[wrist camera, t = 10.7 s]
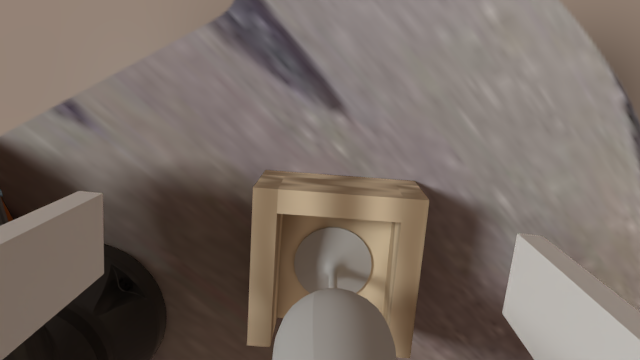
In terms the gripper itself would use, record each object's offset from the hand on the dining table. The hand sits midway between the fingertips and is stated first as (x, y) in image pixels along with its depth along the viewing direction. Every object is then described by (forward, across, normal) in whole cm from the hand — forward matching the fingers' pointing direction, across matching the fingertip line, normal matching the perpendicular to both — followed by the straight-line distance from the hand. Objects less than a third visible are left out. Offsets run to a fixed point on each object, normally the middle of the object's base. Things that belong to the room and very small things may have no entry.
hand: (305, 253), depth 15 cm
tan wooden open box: (+29, +2, -10) cm, 31 cm away
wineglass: (+27, +2, -12) cm, 29 cm away
